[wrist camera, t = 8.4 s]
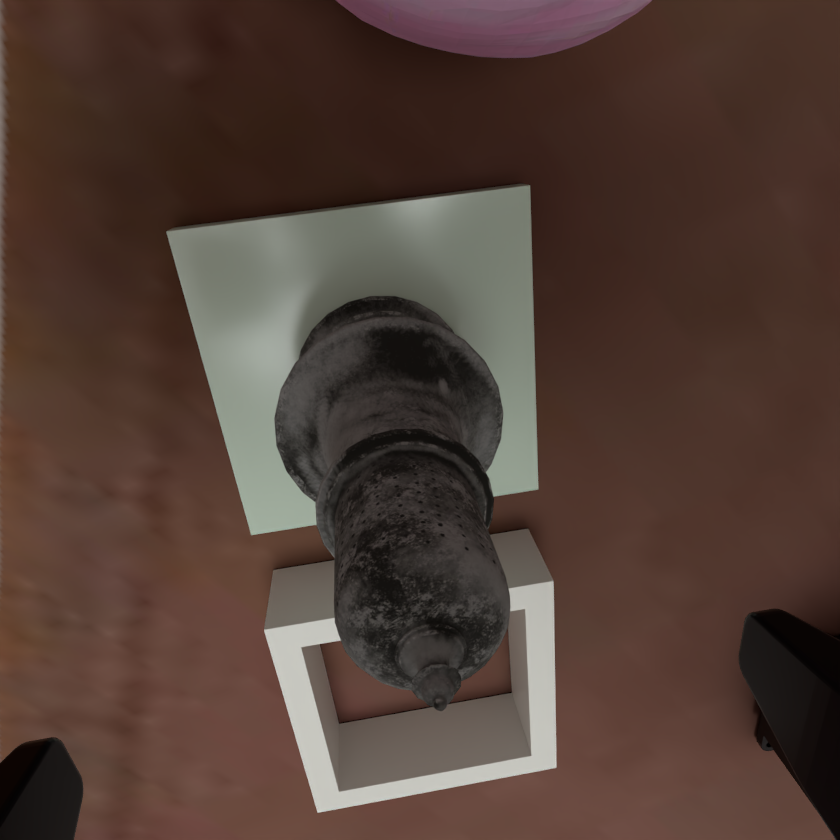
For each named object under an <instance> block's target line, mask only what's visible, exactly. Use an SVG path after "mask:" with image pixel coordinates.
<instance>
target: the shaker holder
mask: <svg viewBox="0 0 840 840" xmlns="http://www.w3.org/2000/svg"><path fill="white" fill-rule="evenodd" d="M490 537H491V539H492V542H493V544H494V547H495V550H496V552H497V555H498V558H499V560H500V563H501V565H502V568H503V571H504V573H505V576H506V580H507V584H508V589H509V593H510V617H509V626H508V637H509V654H510V670H511V687H512V693H508V694H502V695H497V696H491V697H486V698H480V699H475V700H469V701H464V702H458V703H452V704H448V705H447V707H446V708H445V710H443V711H438V710H436V709H435V708H434V707H430V708H425V709H419V710H414V711H408V712H402V713H397V714H391V715H386V716H380V717H375V718H369V719H364V720H358V721H352V722H347V723H341V724H339V721H338V717H337V713H336V709H335V705H334V701H333V697H332V692H331V688H330V684H329V680H328V676H327V672H326V668H325V664H324V660H323V656H322V651H321V647H320V644H323V643H329V642H335V641H340V640H341V639H340V637H339V634H338V631H337V628H336V624H335V616H334V560H332V561H326V562H320V563H314V564H307V565H301V566H295V567H289V568H283V569H277V570H273V576H272V582H271V588H270V595H269V601H268V608H267V614H266V620H265V627H264V632H265V635H266V638H267V642H268V645H269V649H270V652H271V655H272V659H273V662H274V666H275V669H276V672H277V676H278V679H279V683H280V686H281V689H282V693H283V696H284V700H285V703H286V706H287V710H288V713H289V717H290V720H291V723H292V727H293V730H294V734H295V737H296V740H297V744H298V747H299V751H300V754H301V757H302V761H303V764H304V768H305V771H306V774H307V778H308V781H309V785H310V788H311V791H312V795H313V798H314V802H315V805H316V808H317V812H318V813H319V812H324V811H330V810H335V809H340V808H346V807H351V806H356V805H362V804H367V803H372V802H377V801H383V800H388V799H393V798H399V797H404V796H409V795H414V794H420V793H425V792H430V791H436V790H441V789H446V788H452V787H457V786H462V785H467V784H473V783H478V782H483V781H489V780H494V779H499V778H505V777H510V776H515V775H520V774H526V773H531V772H536V771H542V770H547V769H552V768H556V707H555V642H554V581H553V579H552V577H551V575H550V572H549V570H548V568H547V566H546V564H545V562H544V560H543V558H542V556H541V554H540V552H539V550H538V548H537V546H536V544H535V541H534V539H533V537H532V535H531V533H530V531H529V529H522V530H516V531H510V532H504V533H498V534H491V535H490Z"/></svg>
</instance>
